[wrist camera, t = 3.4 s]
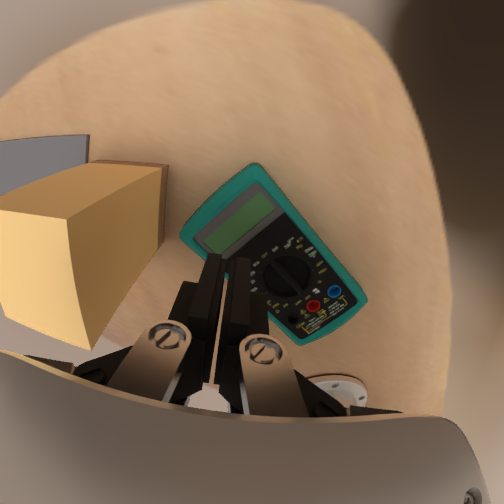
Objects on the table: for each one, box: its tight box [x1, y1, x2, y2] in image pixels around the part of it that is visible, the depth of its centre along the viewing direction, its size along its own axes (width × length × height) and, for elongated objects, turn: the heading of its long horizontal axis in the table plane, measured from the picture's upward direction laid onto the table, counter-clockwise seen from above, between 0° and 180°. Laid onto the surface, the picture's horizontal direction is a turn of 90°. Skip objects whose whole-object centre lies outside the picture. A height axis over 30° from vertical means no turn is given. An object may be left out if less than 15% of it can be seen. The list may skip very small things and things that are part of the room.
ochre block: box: [0, 160, 168, 351], centre depth 14 cm, size 6×6×12 cm
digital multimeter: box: [179, 163, 368, 345], centre depth 20 cm, size 7×15×3 cm, turn 42°
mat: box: [0, 135, 89, 196], centre depth 18 cm, size 10×13×1 cm
